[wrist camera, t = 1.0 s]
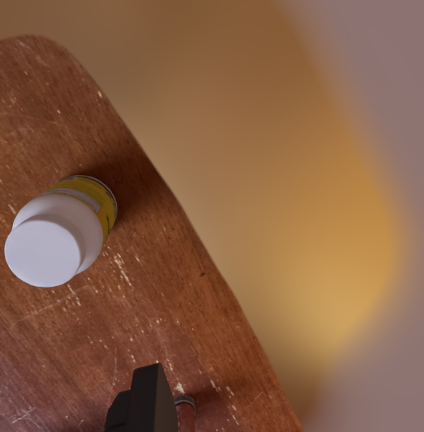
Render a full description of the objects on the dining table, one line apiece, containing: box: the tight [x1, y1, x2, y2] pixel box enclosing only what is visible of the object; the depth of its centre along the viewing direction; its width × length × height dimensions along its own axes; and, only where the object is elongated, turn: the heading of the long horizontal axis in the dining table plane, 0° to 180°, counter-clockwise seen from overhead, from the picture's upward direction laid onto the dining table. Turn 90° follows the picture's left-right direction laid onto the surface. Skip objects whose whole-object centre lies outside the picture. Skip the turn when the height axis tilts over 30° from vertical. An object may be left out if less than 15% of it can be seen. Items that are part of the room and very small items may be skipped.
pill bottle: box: [5, 175, 117, 287], centre depth 28 cm, size 6×6×11 cm
